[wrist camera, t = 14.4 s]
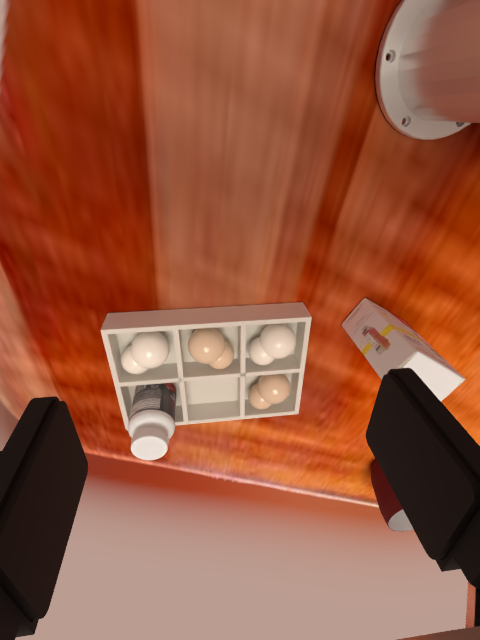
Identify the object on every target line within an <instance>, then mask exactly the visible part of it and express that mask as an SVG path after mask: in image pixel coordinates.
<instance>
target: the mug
mask: <svg viewBox="0 0 480 640" xmlns="http://www.w3.org/2000/svg"><path fill="white" fill-rule="evenodd" d="M371 480H372V485H373V488H374V492H375V495H376V498H377V502H378V505H379V508H380V511H381V513H382V515H383V517H384V519H385V521H386V523H387V525H388V527H389V528H390V529H391V530H393V531H409V530H413V527H412V525H411V523H410V521H409V520H408V518H407V516H406V514H405V512H404V510H403V508H402V507H401V505H400V503H399V501H398V499H397V497H396V495H395V493H394V492H393V490H392V488H391V486H390V484H389V482H388V480H387V479H386V477H385V475H384V473H383V471H382V469H381V467H380V466H379V464H378V462H377V460H375V461H374V462H373V464H372V469H371Z"/></svg>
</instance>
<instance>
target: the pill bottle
mask: <svg viewBox="0 0 480 640" xmlns="http://www.w3.org/2000/svg"><path fill="white" fill-rule="evenodd" d="M176 395H177V389H176V385H175V383H174V382H172V383H160V384H147V385H136V389H135V393H134V398H133V403H132V408H131V413H130V417H129V422H128V432H129V435H130V436H131V438H132V440H131V451H132V453H133V454H134V455H135V456H136V457H137V458H140V459H143V460H155V459H158V458H160V457H162V456H163V455H165V453H166V452H167V449H168V443H169V439H170V438H171V436H172V435H173V433H174V430H175V415H176V414H175V413H176Z"/></svg>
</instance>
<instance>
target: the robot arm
mask: <svg viewBox="0 0 480 640" xmlns="http://www.w3.org/2000/svg"><path fill="white" fill-rule="evenodd" d="M386 55H388V60H387V61H386ZM375 81H376V92H377V97H378V101H379V104H380V108H381V110H382V112H383V114H384V116H385V118H386V119H387V121H388V122H389V123H390V124H391V125H392V127H393V128H394V129H396V130H397V131H399V132H400V133H401V134H403V135H405V136H408V137H411V138H415V139H421V140H435V139H439V138H444V137H447V136H450V135H452V134H454V133H456V132H459V131H460V130H462V129H463V128H465V127H466V126H468V125H469V124H471V123H480V0H401V2H400V3H399V5H398V6H397V8H396V9H395V11H394V13H393V15H392V17H391V19H390V20H389V22H388V24H387V26H386V29H385V32H384V35H383V37H382V40H381V43H380V47H379V52H378V56H377V61H376V75H375ZM402 120H403V123H402ZM366 439H367V443H368V445H369V447H370V449H371V451H372V452H373V454H374V456H375V458H376V460H377V462H378V464H379V466H380V467H381V469H382V471H383V473H384V475H385V477H386V479H387V480H388V482H389V484H390V486H391V488H392V490H393V492H394V493H395V495H396V497H397V499H398V501H399V503H400V505H401V507H402V508H403V510H404V512H405V514H406V516H407V518H408V520H409V521H410V523H411V525H412V527H413V529H414V531H415V532H416V534H417V536H418V538H419V540H420V542H421V544H422V545H423V547H424V549H425V551H426V553H427V554H428V556H429V557H430V558H432V559H434V560H436V562H437V564H438V565H439V567H440V569H441V571H442V572H443V571H449V570H456V569H461V570H462V571H463V573H464V575H465V576H466V578H467V580H468V594H467V612H466V628H465V629H458V630H451V631H445V632H440V633H433V634H428V635H423V636H416V637H410V638H404V639H398V640H480V446H479V445H478V444H477V443H476V442H475V441H474V439H473V438H472V437H471V436H470V435H469V434H468V432H467V431H466V430H465V429H464V428H463V427H462V426H461V424H460V423H459V422H458V421H457V420H456V419H455V417H454V416H453V415H452V414H451V413H450V412H449V411H448V409H447V408H446V407H445V406H444V405H443V404H442V403H441V401H440V400H439V399H438V398H437V397H436V396H435V394H434V393H433V392H432V391H431V390H430V389H429V388H428V386H427V385H426V384H425V383H424V382H423V381H422V379H421V378H420V377H419V376H418V375H417V374H416V373H415V371H414V370H412V369H411V368H398V369H390V370H389V371H388V373H387V374H385V375H384V376H383V378H382V381H381V385H380V388H379V391H378V395H377V398H376V401H375V405H374V408H373V411H372V415H371V418H370V422H369V425H368V428H367V432H366ZM87 472H88V462H87V459H86V456H85V453H84V451H83V448H82V445H81V443H80V440H79V437H78V434H77V432H76V429H75V426H74V424H73V421H72V418H71V416H70V413H69V410H68V407H67V405H66V403H65V402H64V401H60V400H59V399H58V398H57V397H43V398H33V399H32V400H31V401H30V402H29V404H28V406H27V407H26V409H25V411H24V413H23V415H22V416H21V418H20V420H19V422H18V424H17V425H16V427H15V429H14V431H13V433H12V435H11V436H10V438H9V440H8V442H7V443H6V445H5V447H4V449H3V451H0V640H15V637H20V636H27V635H33V634H34V633H35V630H36V626H37V623H38V620H39V619H41V618H43V617H44V616H45V615H46V613H47V611H48V609H49V606H50V602H51V599H52V595H53V592H54V588H55V584H56V581H57V578H58V574H59V571H60V567H61V564H62V560H63V557H64V553H65V550H66V546H67V542H68V539H69V536H70V532H71V529H72V525H73V522H74V518H75V515H76V511H77V508H78V504H79V501H80V497H81V494H82V490H83V486H84V483H85V480H86V476H87Z"/></svg>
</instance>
